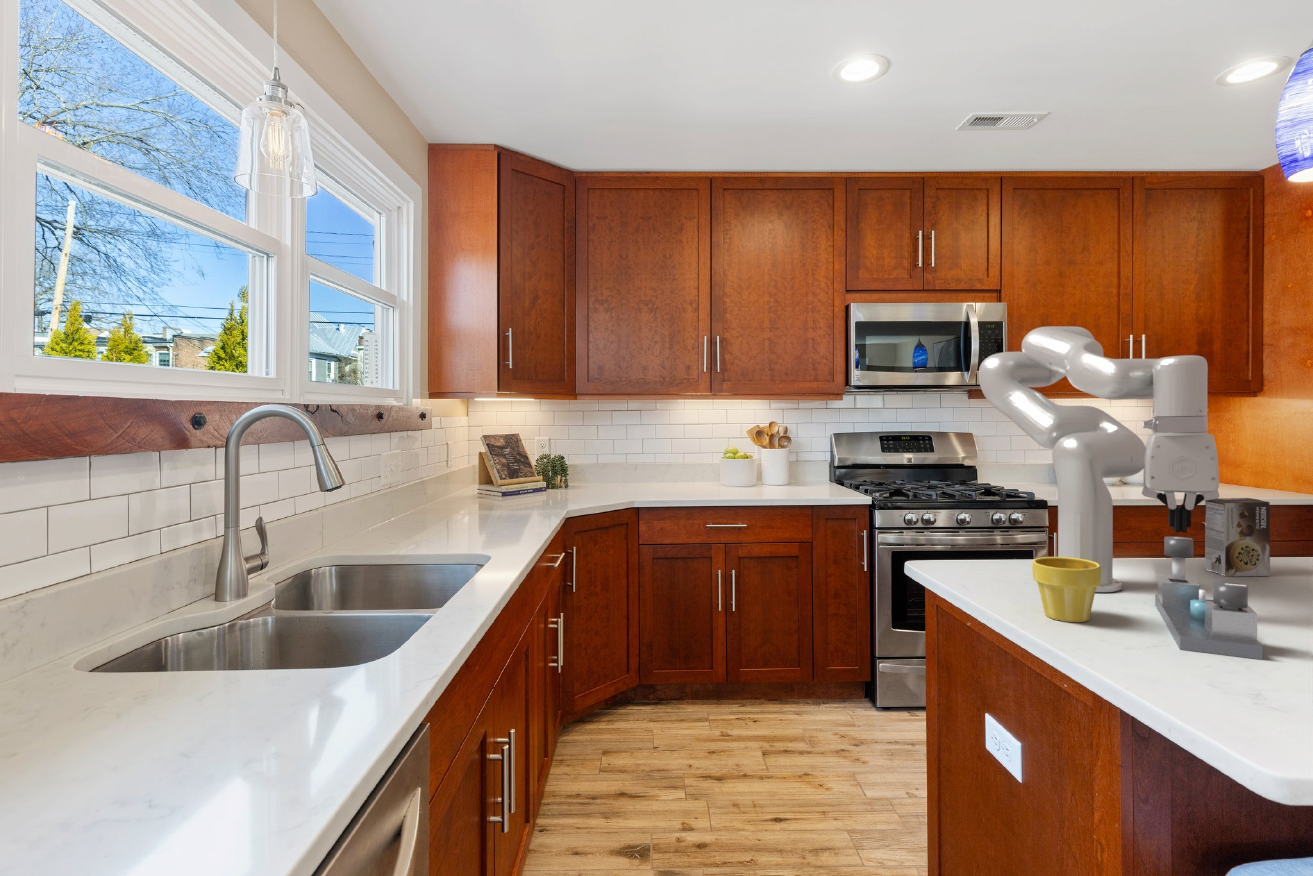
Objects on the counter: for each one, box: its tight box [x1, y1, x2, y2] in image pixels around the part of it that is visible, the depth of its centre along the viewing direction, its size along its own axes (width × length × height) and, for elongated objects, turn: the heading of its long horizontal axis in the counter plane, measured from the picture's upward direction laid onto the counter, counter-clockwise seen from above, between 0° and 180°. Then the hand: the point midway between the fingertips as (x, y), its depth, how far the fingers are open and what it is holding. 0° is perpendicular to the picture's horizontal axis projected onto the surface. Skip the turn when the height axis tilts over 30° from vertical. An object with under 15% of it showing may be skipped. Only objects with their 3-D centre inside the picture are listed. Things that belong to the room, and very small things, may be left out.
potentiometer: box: [1190, 588, 1206, 620], centre depth 111 cm, size 3×3×4 cm
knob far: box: [1163, 535, 1194, 579], centre depth 118 cm, size 4×4×7 cm
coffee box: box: [1204, 497, 1271, 577], centre depth 146 cm, size 9×6×16 cm
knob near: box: [1212, 581, 1249, 610], centre depth 103 cm, size 4×4×7 cm
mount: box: [1154, 575, 1264, 661], centre depth 111 cm, size 10×26×6 cm, turn 150°
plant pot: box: [1031, 556, 1101, 623], centre depth 118 cm, size 10×10×10 cm
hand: (1179, 531), depth 118 cm, fingers closed
